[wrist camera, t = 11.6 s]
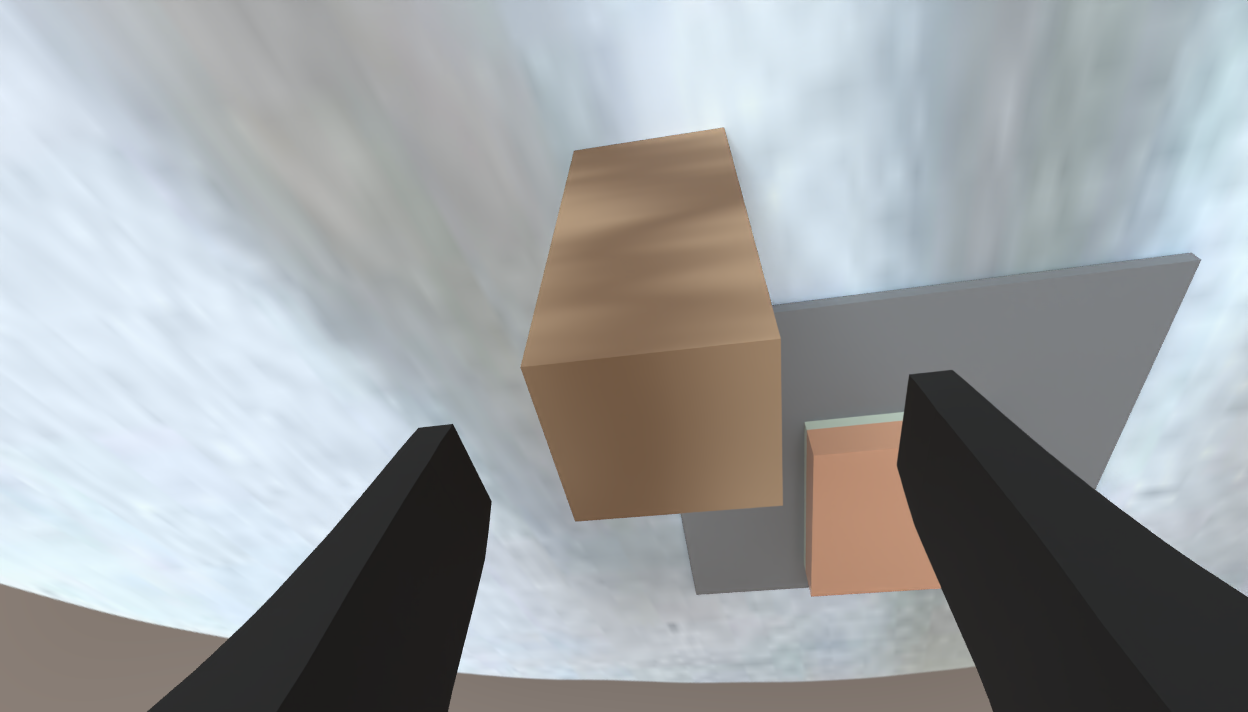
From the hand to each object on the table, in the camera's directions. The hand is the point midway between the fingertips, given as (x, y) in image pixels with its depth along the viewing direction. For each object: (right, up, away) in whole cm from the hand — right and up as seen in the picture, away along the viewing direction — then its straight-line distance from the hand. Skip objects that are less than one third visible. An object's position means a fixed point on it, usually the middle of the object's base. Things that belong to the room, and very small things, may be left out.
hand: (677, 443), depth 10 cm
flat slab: (+8, -1, +11) cm, 14 cm away
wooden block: (0, +6, +8) cm, 9 cm away
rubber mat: (+9, -3, +14) cm, 17 cm away
